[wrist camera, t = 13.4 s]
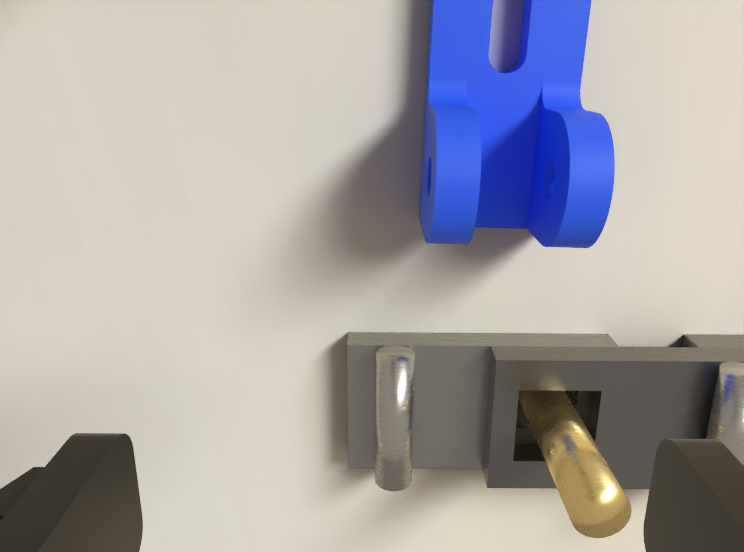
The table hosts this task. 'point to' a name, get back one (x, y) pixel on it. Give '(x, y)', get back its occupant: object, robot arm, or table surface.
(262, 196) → the table surface
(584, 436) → the pin
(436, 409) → the grey plate with pins
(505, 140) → the bracket
